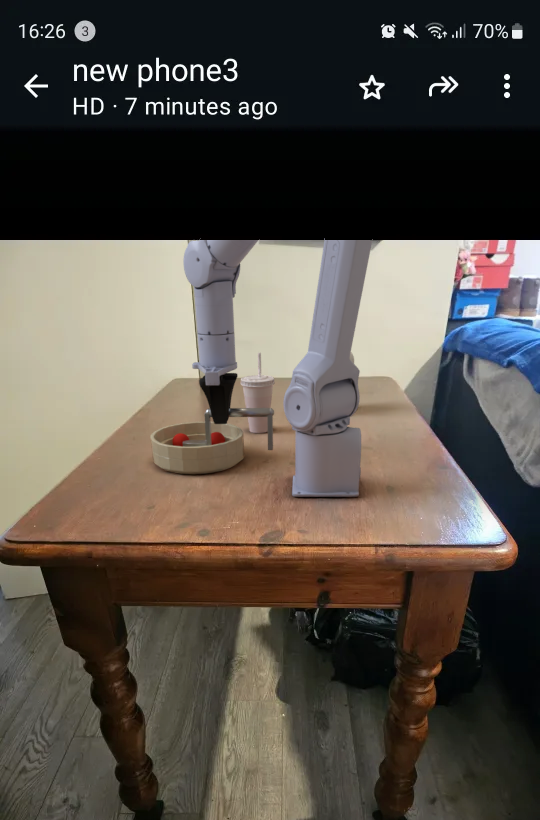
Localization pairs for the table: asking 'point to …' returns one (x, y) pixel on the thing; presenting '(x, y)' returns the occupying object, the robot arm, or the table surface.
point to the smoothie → (258, 397)
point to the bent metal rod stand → (235, 413)
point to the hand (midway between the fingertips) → (221, 421)
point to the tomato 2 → (217, 438)
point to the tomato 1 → (179, 439)
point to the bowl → (197, 448)
